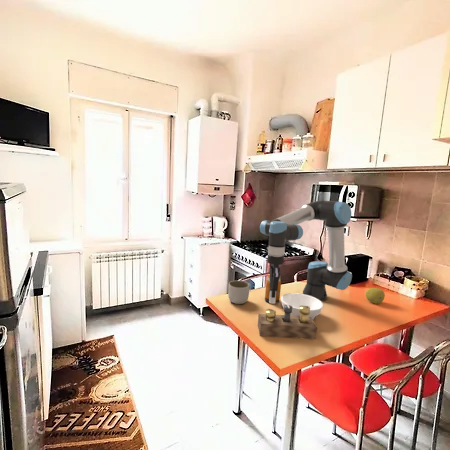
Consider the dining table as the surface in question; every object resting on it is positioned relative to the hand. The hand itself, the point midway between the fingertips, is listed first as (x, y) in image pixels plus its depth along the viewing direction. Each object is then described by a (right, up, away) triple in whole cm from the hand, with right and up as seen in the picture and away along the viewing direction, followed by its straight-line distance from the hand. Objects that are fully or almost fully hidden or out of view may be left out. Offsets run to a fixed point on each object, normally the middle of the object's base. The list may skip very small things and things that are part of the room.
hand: (272, 302), depth 129 cm
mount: (+7, -14, +2) cm, 16 cm away
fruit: (+73, -13, +45) cm, 87 cm away
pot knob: (+7, -11, +1) cm, 13 cm away
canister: (+6, -10, +36) cm, 38 cm away
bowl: (+19, -13, +20) cm, 31 cm away
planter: (-15, -9, +33) cm, 38 cm away
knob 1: (-1, -14, +2) cm, 14 cm away
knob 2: (+15, -12, +1) cm, 19 cm away
